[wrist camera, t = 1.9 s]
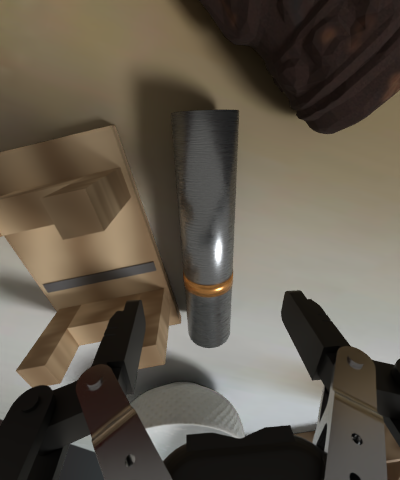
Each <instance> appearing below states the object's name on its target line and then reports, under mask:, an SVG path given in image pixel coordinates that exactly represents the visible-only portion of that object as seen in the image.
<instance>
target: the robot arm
mask: <svg viewBox="0 0 400 480" xmlns="http://www.w3.org/2000/svg"><path fill="white" fill-rule="evenodd" d="M281 316H282V321H283V323H284V325H285V327H286V329H287V331H288V333H289V335H290V337H291V339H292V341H293V343H294V345H295V347H296V349H297V351H298V353H299V355H300V357H301V359H302V361H303V363H304V365H305V367H306V369H307V371H308V373H309V375H310V377H311V378H312V380H322V382H323V384H324V387H323V391H322V397H321V403H320V409H319V415H318V421H317V427H316V431H315V434H314V438H313V442H310V441H308V440H306V439H304V438H302V437H300V436H297V435H293V432H292V430H291V427H290V425H289V426H277V427H266V428H263V429H261V430H259V431H256V432H254V433H252V434H250V435H248V436H246V437H243V438H234V437H230V436H226V435H221V434H217V433H213V432H211V433H200V434H189V435H186V444H184V445H182V446H180V447H178V448H177V449H175V450H174V451H173V452H172V453H170V454H169V455H168V456H167V457H166V458H165V459H164V461H162V459H161V457H160V455H159V453H158V452H157V450H156V448H155V446H154V444H153V442H152V440H151V439H150V437H149V435H148V433H147V431H146V429H145V427H144V425H143V424H142V422H141V420H140V418H139V416H138V414H137V412H136V411H135V409H134V408H133V407H131V405H130V403H129V401H128V399H127V398H126V394H133V393H134V388H135V383H136V378H137V372H138V367H139V362H140V356H141V351H142V346H143V341H144V335H145V329H146V321H145V315H144V309H143V304H142V300H127V301H126V304H125V307H124V310H123V311H116V312H115V314H114V315H113V316H112V317H111V318H110V320H109V322H108V325H107V329H106V330H105V333H104V336H103V338H102V341H101V343H100V346H99V348H98V351H97V353H96V356H95V359H94V361H93V364H92V366H91V367H90V368H89V369H87V370H86V371H85V372H84V373H83V374H82V375H81V376H80V378H79V379H78V380H77V381H75V382H73V383H71V384H68V385H66V386H63V387H61V388H58V389H55V390H53V391H52V389H51V388H50V387H49V386H46V385H39V386H35V387H33V388H31V389H29V390H27V391H26V392H24V393H23V394H22V395H21V396H19V397H18V398H17V400H16V401H15V402H14V403H13V405H12V406H11V408H10V410H9V411H8V413H7V415H6V417H5V418H4V420H3V422H2V424H1V426H0V480H59V477H60V474H61V471H62V468H63V464H64V461H65V458H66V455H67V452H68V448H69V445H70V443H73V442H75V441H77V440H79V439H81V438H83V437H85V436H88V435H90V434H91V437H92V443H93V447H94V450H95V453H96V456H97V459H98V462H99V465H100V468H101V470H102V473H103V476H104V479H105V480H387V465H386V448H385V430H384V423H385V425H386V426H387V428H388V429H389V431H390V433H391V434H392V436H393V437H394V439H395V441H396V442H397V444H398V445H399V447H400V359H399V360H397V362H396V364H395V365H392V364H387V363H383V362H378V361H374V360H371V358H370V357H369V356H368V355H367V354H365V353H364V352H363V351H361V350H359V349H357V348H354V347H351V346H350V345H349V343H348V342H347V341H346V339H345V338H344V337H343V335H342V334H341V333H340V332H339V330H338V329H337V328H336V326H335V325H334V324H333V322H332V321H331V320H330V318H329V317H328V316H327V315H326V313H325V312H324V310H323V309H322V308H321V307H320V305H318V304H317V303H316V302H314V301H313V300H312V299H307V298H306V297H305V296H304V294H303V293H302V292H301V291H300V290H297V291H286V292H285V295H284V300H283V305H282V310H281Z"/></svg>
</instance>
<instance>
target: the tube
mask: <svg viewBox="0 0 400 480" xmlns="http://www.w3.org/2000/svg"><path fill="white" fill-rule="evenodd" d="M171 121H172V133H173V146H174V158H175V171H176V183H177V196H178V208H179V221H180V233H181V246H182V258H183V277H184V286H185V295H186V308H187V320H188V332H189V336H190V338H191V340H192V341H193V342H194V343H195V344H197V345H199V346H201V347H205V348H214V347H218V346H220V345H222V344H223V343H225V342H226V341H227V339H228V337H229V335H230V320H231V296H232V283H233V247H234V223H235V199H236V174H237V150H238V126H239V110H197V111H183V112H174V113H171Z"/></svg>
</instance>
